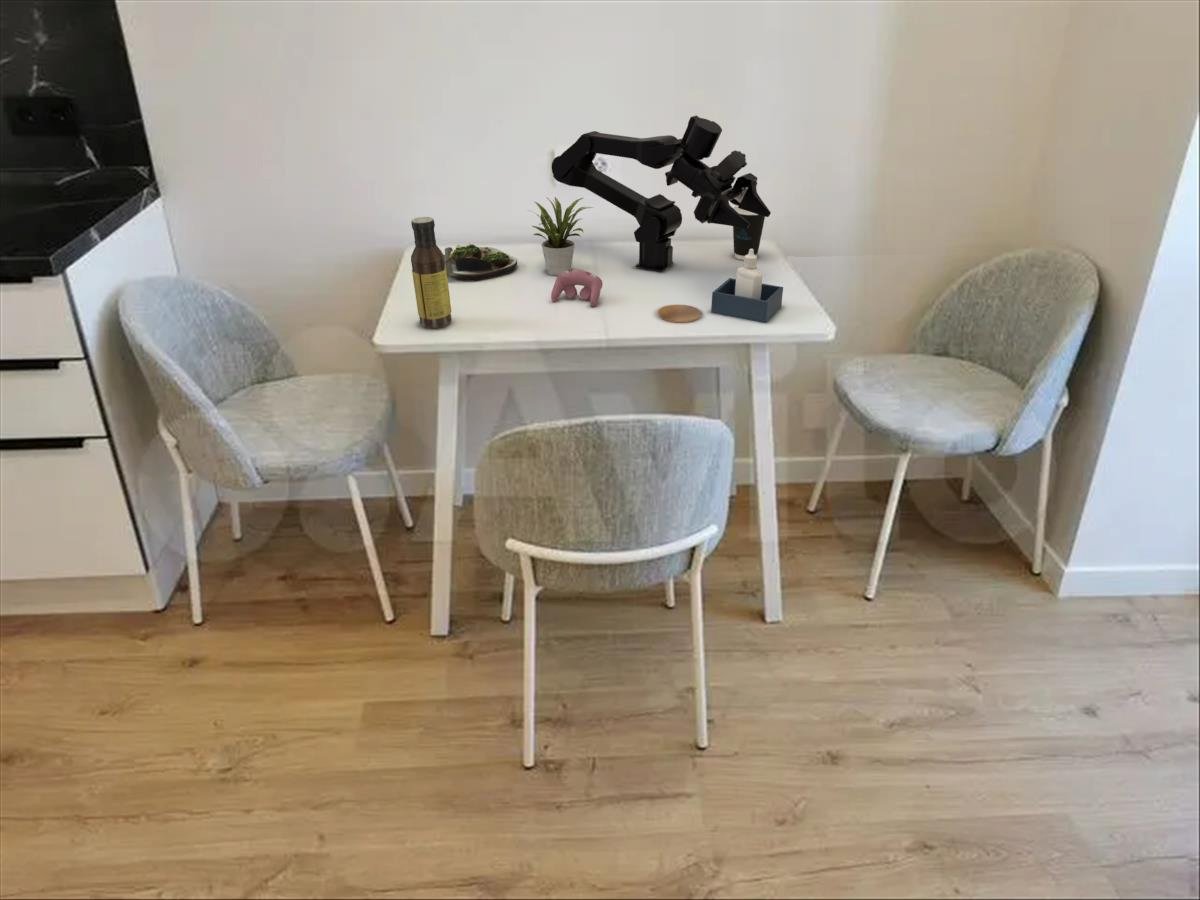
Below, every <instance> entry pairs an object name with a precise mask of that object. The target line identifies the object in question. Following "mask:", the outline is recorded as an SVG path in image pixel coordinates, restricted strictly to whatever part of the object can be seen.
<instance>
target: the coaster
mask: <svg viewBox="0 0 1200 900" xmlns="http://www.w3.org/2000/svg"><path fill="white" fill-rule="evenodd" d="M657 316H658V318H660V319H661V320H663V321H666V322H670V323H679V324H680V323H681V324H683V323H684V324H685V323H691V322H692V323H693V322H695V321H698V320H699V319H700V318H701V317H702V311H701V310H700V309H699V308H697V307H695V306H692V305H687V304H670V305H665V306H662V307H660V308H659V309H658V311H657Z"/></svg>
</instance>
